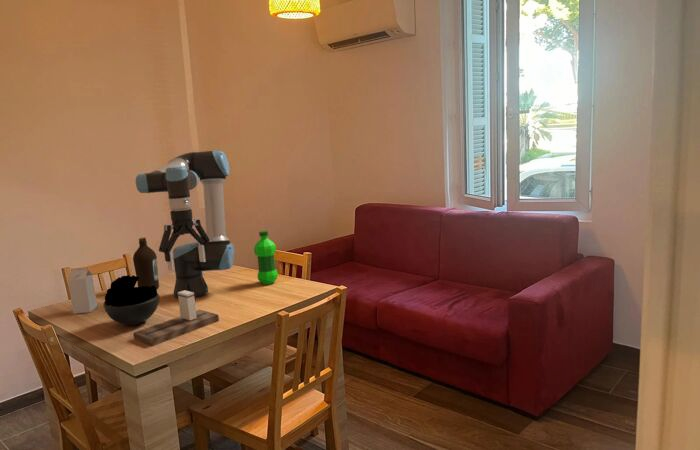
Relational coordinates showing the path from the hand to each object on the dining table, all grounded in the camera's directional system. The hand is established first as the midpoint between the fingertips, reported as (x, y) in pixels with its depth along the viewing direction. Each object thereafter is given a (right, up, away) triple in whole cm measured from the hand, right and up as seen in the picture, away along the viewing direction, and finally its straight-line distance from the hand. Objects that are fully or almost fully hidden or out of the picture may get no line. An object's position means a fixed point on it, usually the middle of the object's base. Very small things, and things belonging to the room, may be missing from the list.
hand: (187, 265), depth 192 cm
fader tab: (0, -20, +3) cm, 20 cm away
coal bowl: (-24, -23, +9) cm, 35 cm away
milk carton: (-53, -22, +30) cm, 65 cm away
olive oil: (-37, -16, +59) cm, 71 cm away
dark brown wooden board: (-3, -24, -1) cm, 24 cm away
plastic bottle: (+21, -13, +56) cm, 61 cm away
